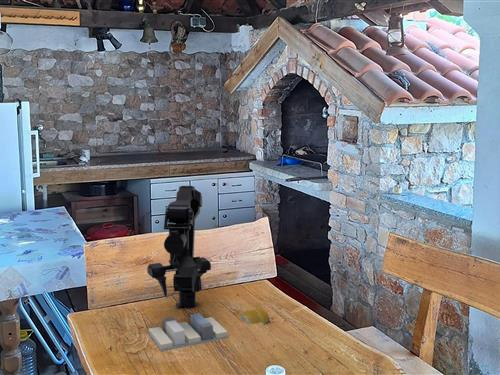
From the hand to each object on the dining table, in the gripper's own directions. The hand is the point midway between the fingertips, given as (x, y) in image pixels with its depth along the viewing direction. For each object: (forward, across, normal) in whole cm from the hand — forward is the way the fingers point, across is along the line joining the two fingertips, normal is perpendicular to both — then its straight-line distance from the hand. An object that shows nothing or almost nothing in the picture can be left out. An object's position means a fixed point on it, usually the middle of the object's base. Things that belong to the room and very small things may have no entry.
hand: (179, 294), depth 175 cm
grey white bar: (+10, -5, -8) cm, 14 cm away
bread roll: (+12, +23, -5) cm, 27 cm away
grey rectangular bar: (+10, +4, -8) cm, 13 cm away
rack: (+11, 0, -8) cm, 14 cm away
